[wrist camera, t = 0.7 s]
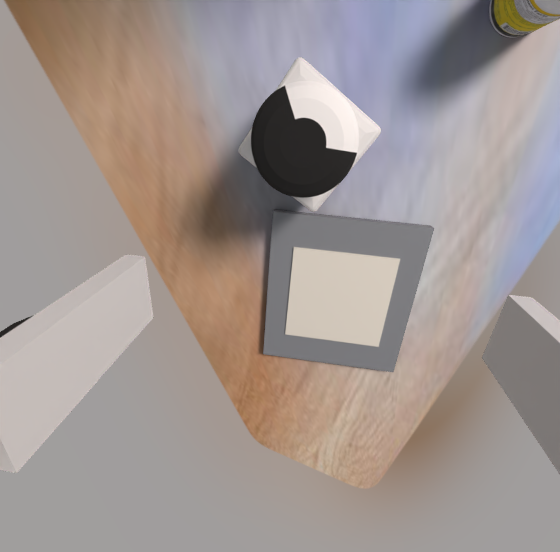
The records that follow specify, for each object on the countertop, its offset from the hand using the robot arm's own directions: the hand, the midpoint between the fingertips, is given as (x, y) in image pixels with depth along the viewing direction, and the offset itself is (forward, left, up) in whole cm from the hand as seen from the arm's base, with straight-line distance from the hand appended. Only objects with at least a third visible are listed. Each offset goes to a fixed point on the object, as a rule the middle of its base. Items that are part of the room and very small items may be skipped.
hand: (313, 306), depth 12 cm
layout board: (+11, +3, -23) cm, 25 cm away
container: (-5, -2, -23) cm, 24 cm away
